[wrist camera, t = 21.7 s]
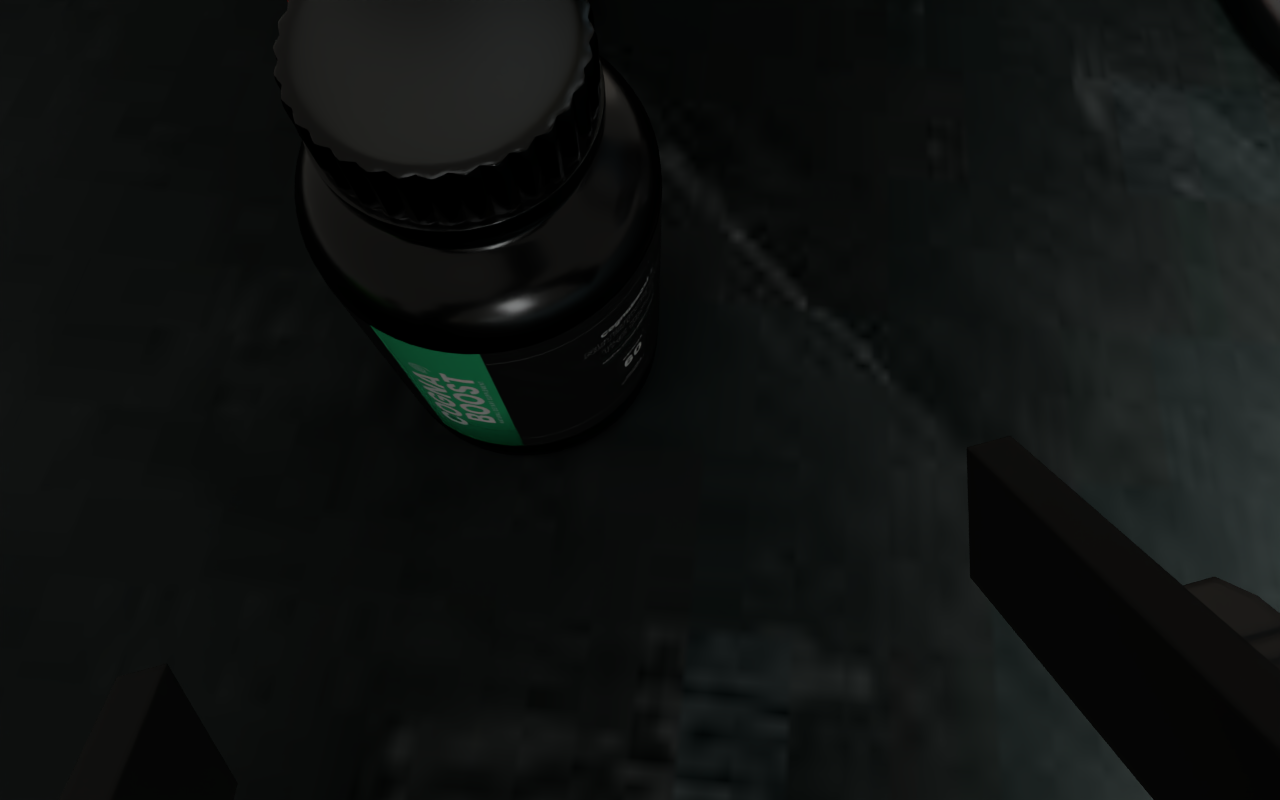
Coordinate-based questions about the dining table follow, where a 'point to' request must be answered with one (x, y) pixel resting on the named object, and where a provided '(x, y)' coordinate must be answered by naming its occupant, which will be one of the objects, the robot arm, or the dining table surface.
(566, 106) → the supplement bottle
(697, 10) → the dining table surface
